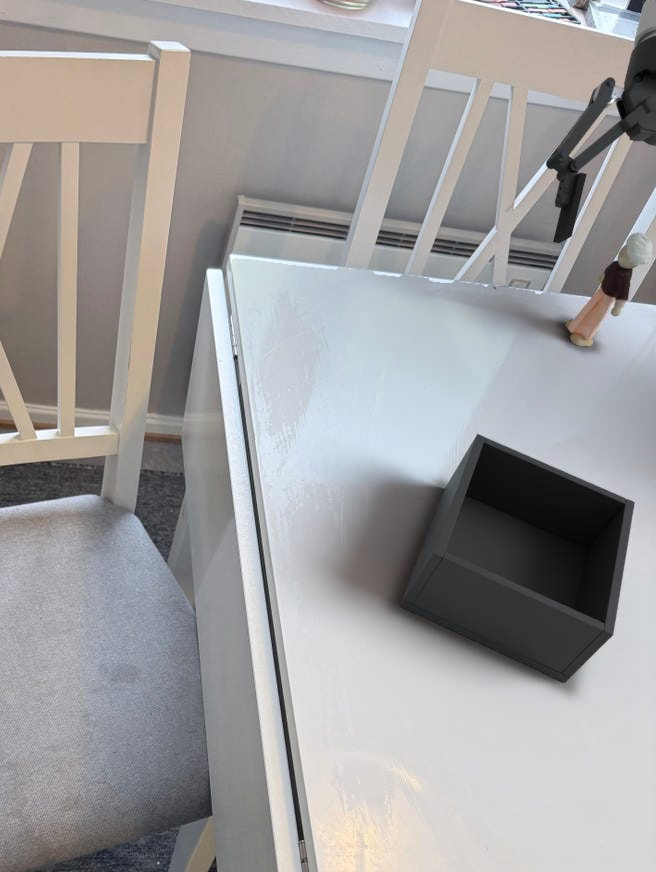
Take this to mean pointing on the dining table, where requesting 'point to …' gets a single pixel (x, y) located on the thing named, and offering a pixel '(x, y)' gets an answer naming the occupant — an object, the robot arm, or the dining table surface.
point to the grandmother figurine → (610, 290)
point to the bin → (523, 559)
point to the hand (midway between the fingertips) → (619, 252)
